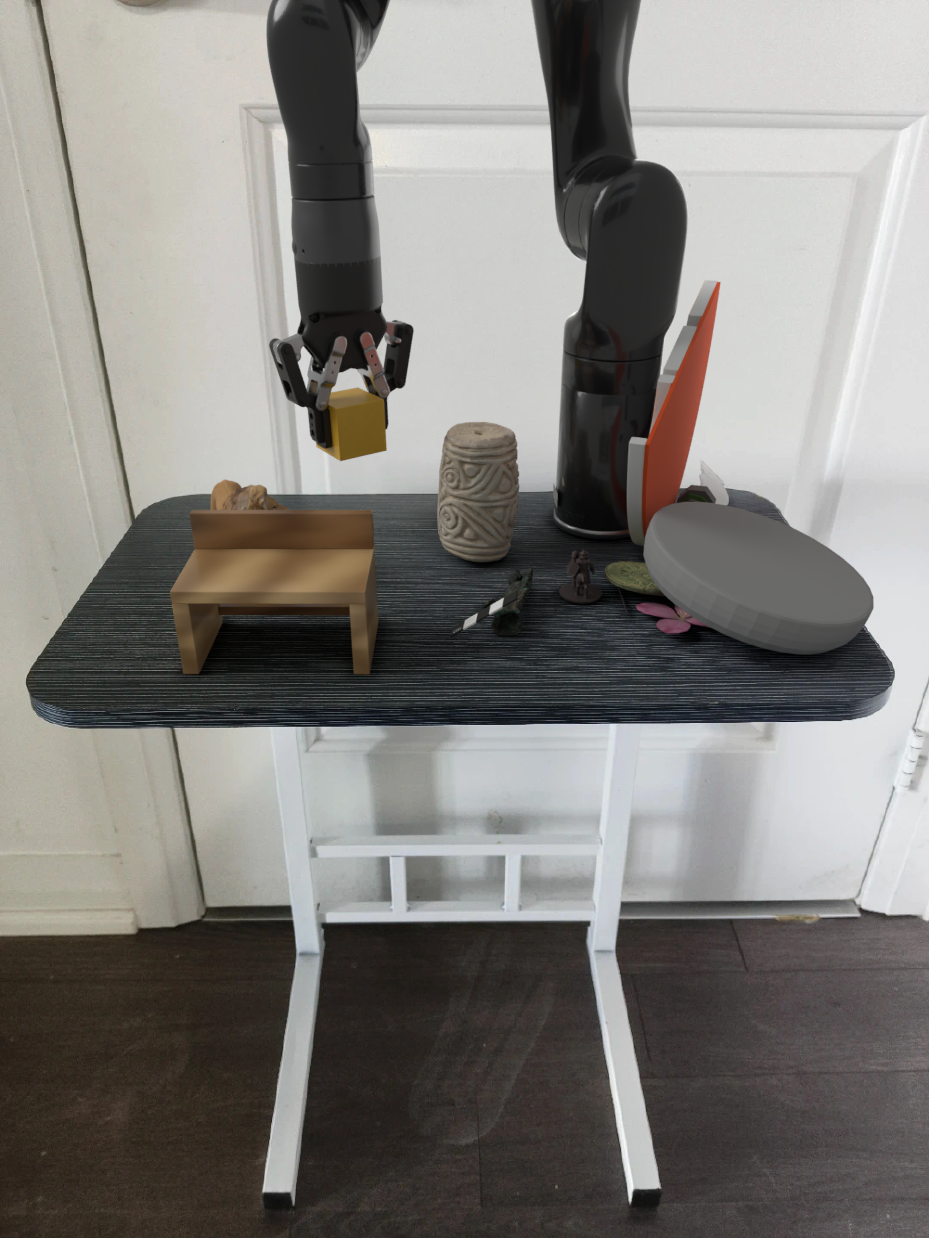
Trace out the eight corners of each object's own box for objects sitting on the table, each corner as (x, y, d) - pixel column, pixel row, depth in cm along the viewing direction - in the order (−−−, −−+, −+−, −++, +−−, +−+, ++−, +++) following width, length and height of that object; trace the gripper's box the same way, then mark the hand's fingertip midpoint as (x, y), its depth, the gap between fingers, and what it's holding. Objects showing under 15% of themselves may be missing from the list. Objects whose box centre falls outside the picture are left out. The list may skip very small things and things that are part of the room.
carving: (525, 564, 89) (529, 438, 83) (445, 571, 87) (443, 444, 81) (508, 536, 94) (511, 416, 88) (432, 543, 93) (430, 421, 87)
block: (361, 437, 96) (358, 387, 93) (386, 450, 92) (384, 399, 90) (316, 447, 93) (311, 396, 91) (340, 461, 90) (336, 408, 87)
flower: (651, 596, 84) (652, 586, 84) (742, 615, 81) (744, 605, 80) (618, 629, 78) (618, 619, 78) (715, 651, 74) (717, 640, 74)
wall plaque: (705, 277, 94) (628, 442, 74) (721, 279, 94) (648, 445, 74) (684, 439, 107) (615, 616, 87) (699, 441, 107) (632, 620, 87)
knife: (725, 495, 108) (686, 472, 108) (746, 464, 106) (706, 441, 106) (698, 576, 89) (651, 549, 90) (722, 541, 87) (674, 513, 87)
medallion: (634, 598, 79) (635, 590, 79) (587, 566, 86) (588, 558, 85) (713, 597, 82) (715, 588, 82) (662, 566, 89) (664, 558, 88)
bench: (183, 674, 72) (163, 553, 68) (208, 622, 79) (191, 509, 75) (369, 674, 72) (363, 553, 68) (378, 622, 79) (372, 509, 75)
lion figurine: (301, 582, 86) (292, 487, 81) (244, 597, 83) (232, 500, 79) (237, 527, 96) (227, 440, 92) (186, 539, 94) (172, 450, 90)
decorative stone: (629, 484, 83) (610, 534, 86) (685, 598, 68) (659, 655, 70) (822, 524, 87) (798, 571, 89) (916, 642, 71) (884, 694, 74)
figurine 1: (450, 636, 75) (470, 559, 85) (481, 672, 76) (497, 592, 86) (515, 598, 72) (528, 524, 82) (546, 636, 74) (556, 558, 84)
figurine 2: (614, 572, 87) (618, 531, 85) (629, 615, 80) (633, 571, 78) (554, 572, 87) (556, 531, 85) (563, 615, 80) (566, 571, 78)
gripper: (279, 267, 78) (300, 467, 86) (429, 249, 85) (435, 436, 93) (242, 255, 83) (265, 444, 92) (386, 240, 90) (395, 417, 99)
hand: (350, 439), depth 92 cm, fingers closed on block, 5 cm apart
